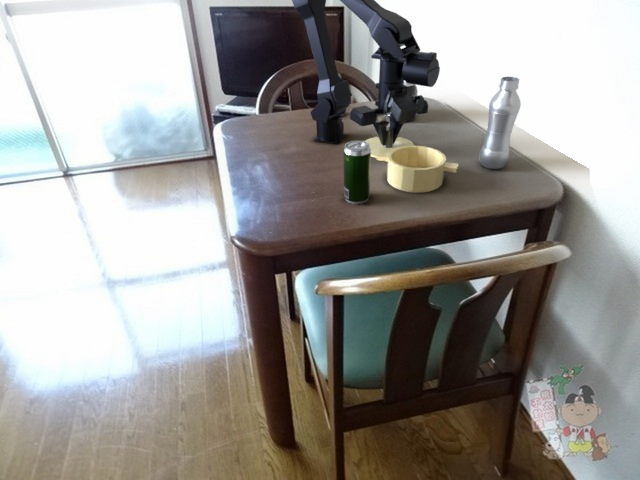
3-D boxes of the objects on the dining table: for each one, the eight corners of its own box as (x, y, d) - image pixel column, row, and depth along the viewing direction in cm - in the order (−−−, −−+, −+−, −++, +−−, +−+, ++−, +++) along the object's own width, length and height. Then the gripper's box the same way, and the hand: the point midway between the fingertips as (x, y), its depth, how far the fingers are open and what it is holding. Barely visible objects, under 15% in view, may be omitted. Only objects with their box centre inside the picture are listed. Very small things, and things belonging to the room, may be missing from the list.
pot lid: (405, 165, 102) (407, 142, 99) (353, 156, 107) (353, 135, 104) (420, 144, 112) (422, 123, 109) (371, 137, 117) (372, 116, 114)
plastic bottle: (506, 161, 104) (526, 75, 92) (506, 174, 99) (527, 84, 87) (478, 158, 106) (494, 73, 94) (476, 170, 101) (493, 82, 89)
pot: (448, 199, 91) (452, 175, 87) (368, 184, 97) (368, 162, 94) (459, 174, 100) (463, 151, 96) (385, 162, 106) (386, 141, 103)
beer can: (354, 207, 89) (354, 153, 82) (339, 197, 93) (338, 144, 86) (374, 199, 91) (376, 146, 85) (358, 190, 95) (359, 138, 88)
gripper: (374, 96, 90) (371, 164, 100) (446, 82, 96) (438, 148, 106) (349, 83, 99) (349, 147, 108) (417, 71, 105) (411, 133, 114)
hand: (387, 144), depth 109 cm, fingers closed on pot lid, 2 cm apart
